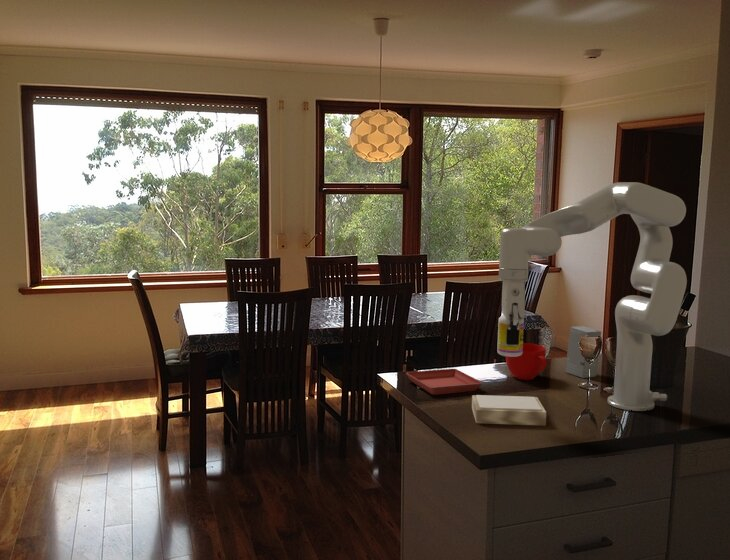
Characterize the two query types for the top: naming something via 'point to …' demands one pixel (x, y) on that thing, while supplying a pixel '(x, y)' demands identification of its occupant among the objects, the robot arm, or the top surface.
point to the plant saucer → (444, 381)
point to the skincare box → (574, 358)
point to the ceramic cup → (528, 362)
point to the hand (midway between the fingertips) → (510, 340)
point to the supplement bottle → (502, 332)
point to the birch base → (508, 410)
